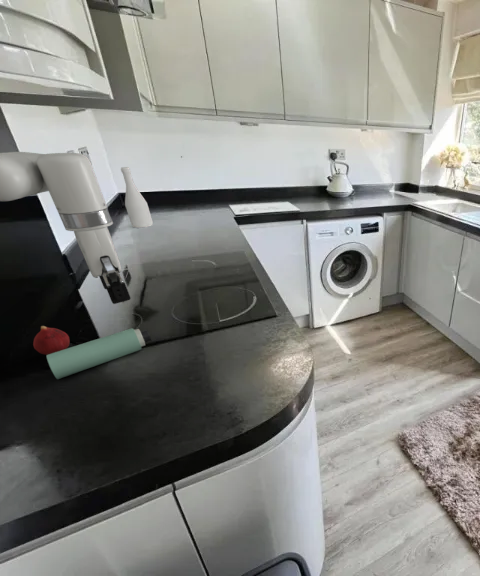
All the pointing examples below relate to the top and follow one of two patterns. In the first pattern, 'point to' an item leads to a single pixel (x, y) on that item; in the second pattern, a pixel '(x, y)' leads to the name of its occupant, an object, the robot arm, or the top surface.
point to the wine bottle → (135, 203)
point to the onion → (50, 340)
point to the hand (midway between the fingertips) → (117, 294)
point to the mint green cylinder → (96, 352)
